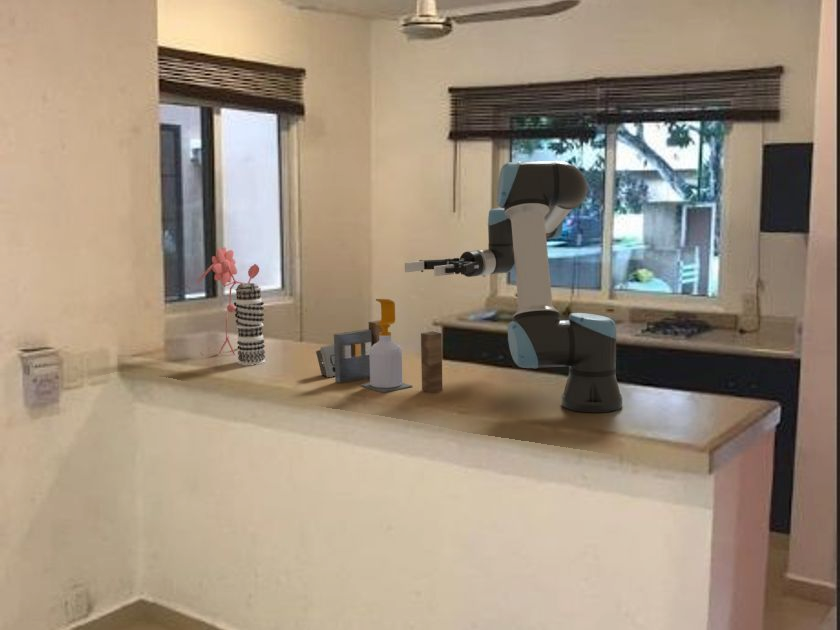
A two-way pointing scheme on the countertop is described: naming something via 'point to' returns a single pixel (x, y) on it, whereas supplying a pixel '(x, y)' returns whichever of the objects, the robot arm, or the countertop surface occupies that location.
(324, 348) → the electrical switch
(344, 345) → the breaker panel
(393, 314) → the soap bottle
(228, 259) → the figurine
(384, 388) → the pad
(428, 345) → the gate
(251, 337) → the decorative candle
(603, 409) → the robot arm
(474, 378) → the countertop surface
